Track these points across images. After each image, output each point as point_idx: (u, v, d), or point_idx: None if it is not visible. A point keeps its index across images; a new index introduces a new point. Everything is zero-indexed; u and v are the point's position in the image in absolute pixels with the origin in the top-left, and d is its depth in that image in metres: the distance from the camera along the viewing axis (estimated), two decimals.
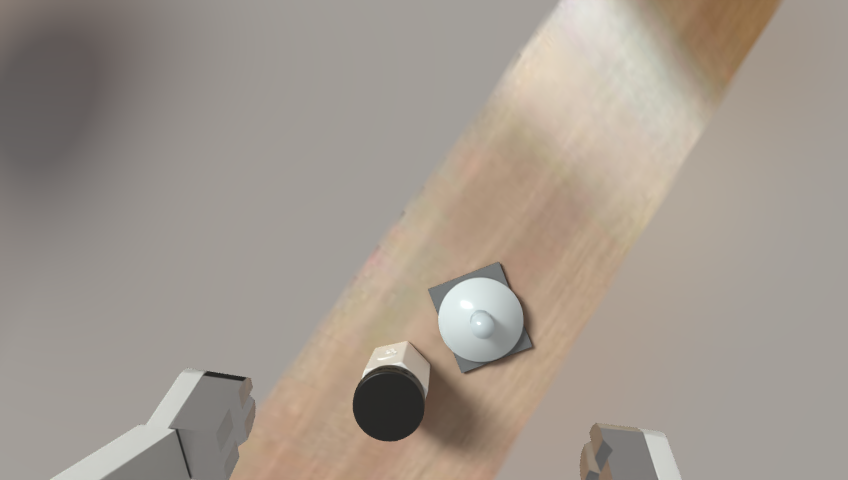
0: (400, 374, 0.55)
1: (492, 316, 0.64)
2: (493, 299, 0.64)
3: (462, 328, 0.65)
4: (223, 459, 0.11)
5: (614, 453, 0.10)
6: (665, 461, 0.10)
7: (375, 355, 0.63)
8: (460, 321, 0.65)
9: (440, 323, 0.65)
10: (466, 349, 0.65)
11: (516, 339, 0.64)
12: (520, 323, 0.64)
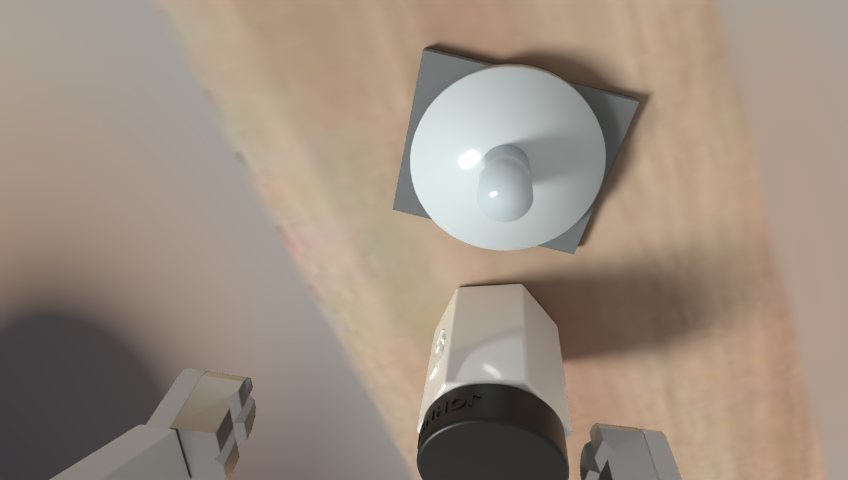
0: (449, 425, 0.25)
1: (514, 142, 0.28)
2: (482, 116, 0.27)
3: None
4: (223, 459, 0.11)
5: (614, 453, 0.10)
6: (665, 461, 0.10)
7: (430, 362, 0.34)
8: None
9: (458, 235, 0.31)
10: (536, 227, 0.30)
11: (595, 128, 0.27)
12: (570, 98, 0.26)
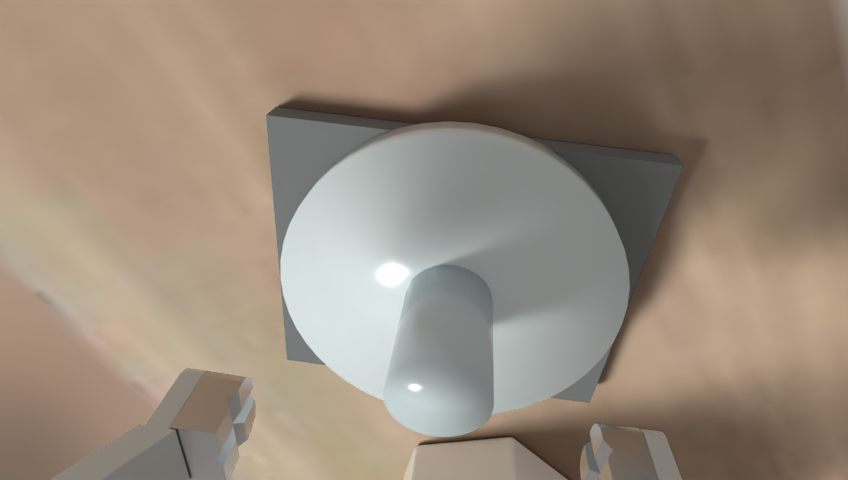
0: None
1: (456, 261, 0.15)
2: (391, 224, 0.15)
3: None
4: (223, 459, 0.11)
5: (614, 453, 0.10)
6: (665, 461, 0.10)
7: None
8: None
9: None
10: (520, 382, 0.17)
11: (604, 226, 0.14)
12: (548, 180, 0.13)
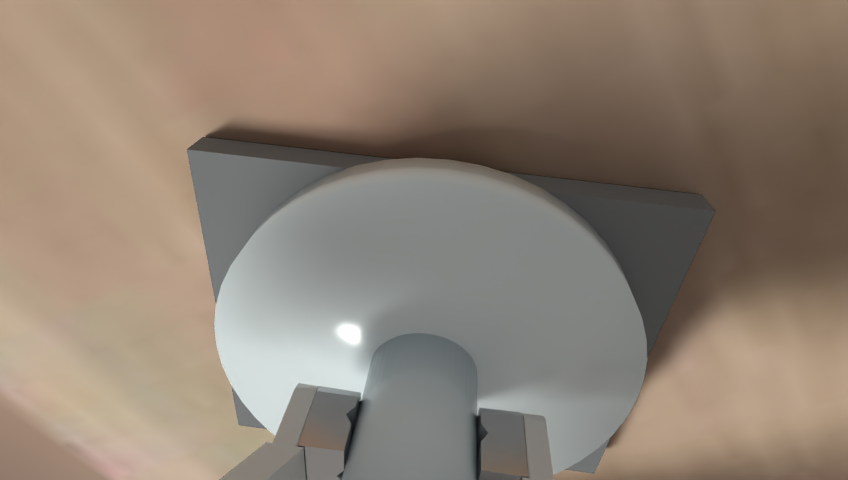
0: None
1: (431, 329, 0.12)
2: (348, 286, 0.12)
3: None
4: None
5: (489, 436, 0.10)
6: (538, 444, 0.10)
7: None
8: None
9: None
10: None
11: (616, 291, 0.11)
12: (546, 235, 0.10)
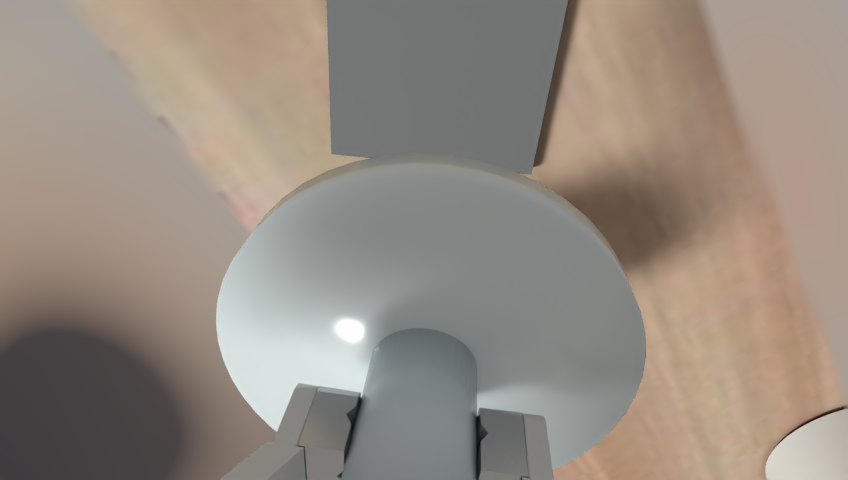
0: None
1: (431, 323, 0.12)
2: (348, 281, 0.12)
3: None
4: None
5: (489, 436, 0.10)
6: (538, 444, 0.10)
7: None
8: None
9: None
10: None
11: (615, 285, 0.11)
12: (545, 229, 0.10)
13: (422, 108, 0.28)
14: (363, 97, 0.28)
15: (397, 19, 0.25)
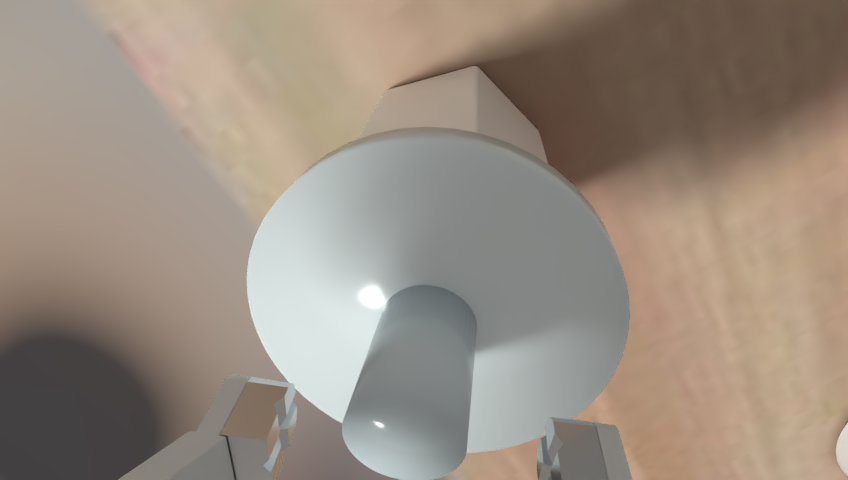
0: None
1: (436, 281, 0.14)
2: (363, 239, 0.13)
3: None
4: (270, 466, 0.11)
5: (564, 446, 0.10)
6: (615, 454, 0.10)
7: None
8: None
9: None
10: (509, 418, 0.16)
11: (599, 245, 0.12)
12: (535, 191, 0.12)
13: None
14: None
15: None
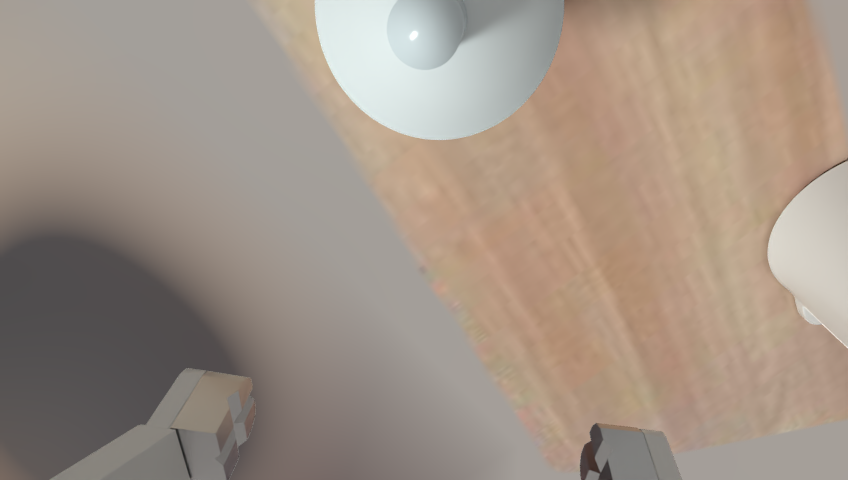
0: None
1: None
2: None
3: (434, 80, 0.23)
4: (223, 459, 0.11)
5: (614, 453, 0.10)
6: (665, 461, 0.10)
7: None
8: (414, 75, 0.23)
9: (397, 126, 0.25)
10: (491, 98, 0.23)
11: None
12: None
13: None
14: None
15: None
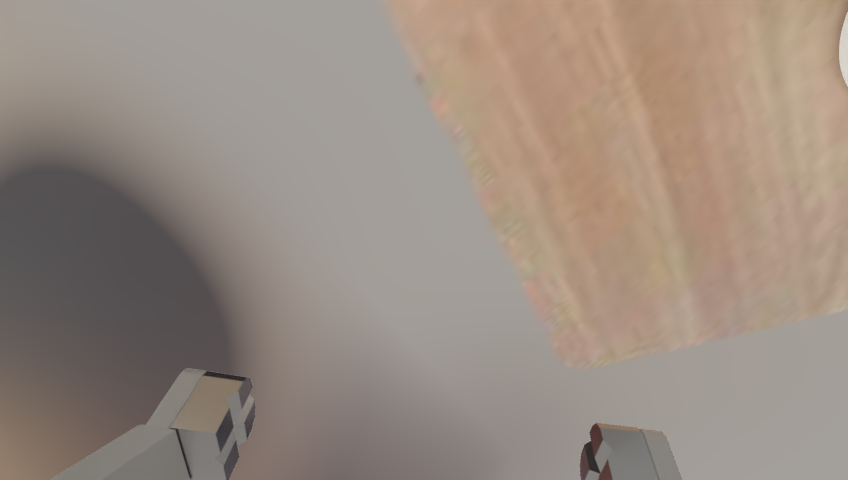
0: None
1: None
2: None
3: None
4: (223, 459, 0.11)
5: (614, 453, 0.10)
6: (665, 461, 0.10)
7: None
8: None
9: None
10: None
11: None
12: None
13: None
14: None
15: None
